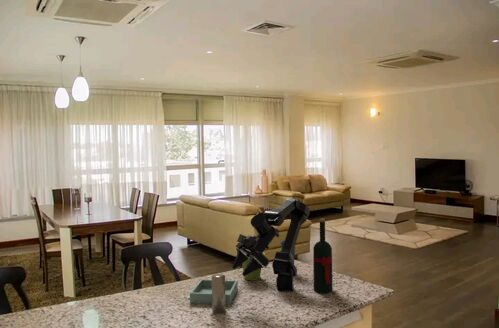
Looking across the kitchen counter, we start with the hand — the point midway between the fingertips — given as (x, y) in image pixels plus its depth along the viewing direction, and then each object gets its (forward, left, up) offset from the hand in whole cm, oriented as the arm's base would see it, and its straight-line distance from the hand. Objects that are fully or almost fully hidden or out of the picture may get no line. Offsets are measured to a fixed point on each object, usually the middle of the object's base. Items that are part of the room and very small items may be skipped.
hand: (237, 271), depth 152 cm
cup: (-16, -43, -14) cm, 48 cm away
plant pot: (0, -33, -14) cm, 35 cm away
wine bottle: (-32, -20, -14) cm, 40 cm away
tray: (+12, -10, -13) cm, 20 cm away
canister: (+7, +4, -13) cm, 15 cm away
